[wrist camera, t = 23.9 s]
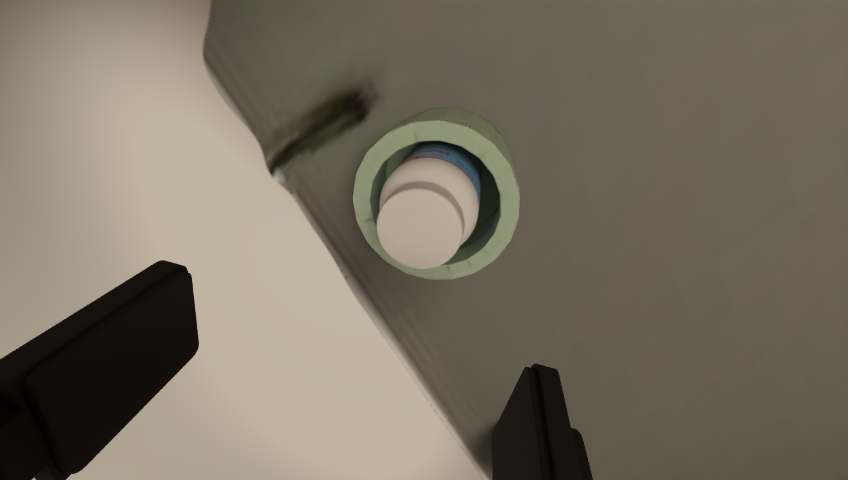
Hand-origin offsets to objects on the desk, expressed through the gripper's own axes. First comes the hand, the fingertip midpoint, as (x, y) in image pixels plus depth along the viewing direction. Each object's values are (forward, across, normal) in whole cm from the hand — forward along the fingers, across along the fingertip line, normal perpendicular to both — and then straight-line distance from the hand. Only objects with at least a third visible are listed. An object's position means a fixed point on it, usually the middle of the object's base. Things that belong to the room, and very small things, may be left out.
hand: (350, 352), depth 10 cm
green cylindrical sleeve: (+22, -1, +1) cm, 22 cm away
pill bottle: (+21, 0, +1) cm, 21 cm away
